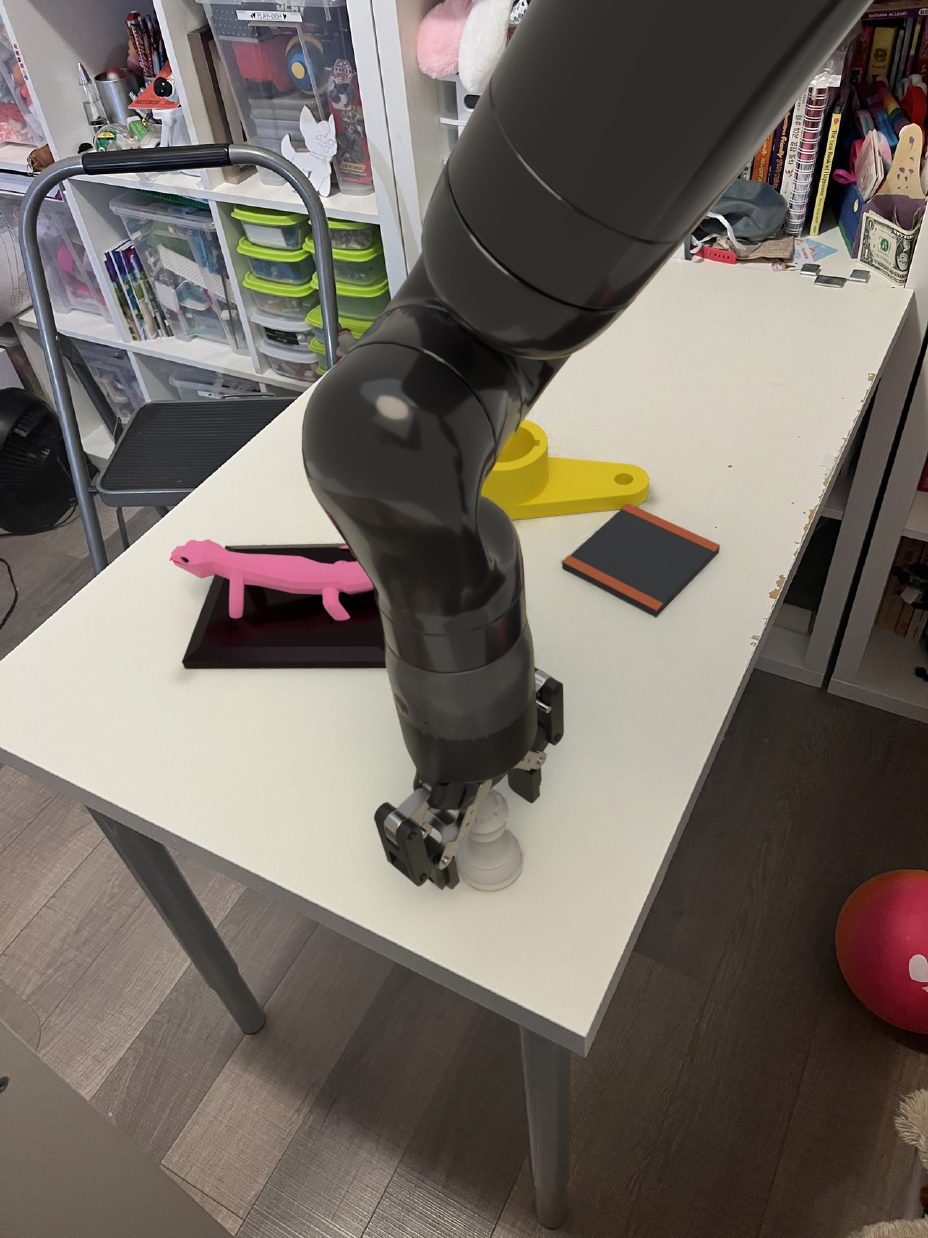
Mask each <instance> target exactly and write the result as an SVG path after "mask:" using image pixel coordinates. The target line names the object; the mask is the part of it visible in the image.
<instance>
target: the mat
mask: <svg viewBox="0 0 928 1238" xmlns="http://www.w3.org/2000/svg"><path fill="white" fill-rule="evenodd" d="M720 547H721V544H719V543H716V542H715V541H712V540H710V539H708V538H705V537H704V536H701V535H699V534H697V533H695V532H692V531H690V530H688V529H686V528H683V527H681V526H679V525H677V524H675V523H673V522H670V521H669V520H666V519H663V518H662V517H659V516H657V515H655V514H653V513H651V512H649V511H646V510H644V509H642V508H640V507H638V506H636V507H635V506H633V505H631V504H629V503H626V504H625V505H624V506H623V507H622V508H621V509H619V510H618V511H617V512H616V513H615V514H614V515H612V517H610V519H608V520H607V521H606V522H605V523H604V524H603V525H602V526H601V527H600V528H599V529H597V530H596V531H595V532H593V534H592V535H590V537H588V538H587V539H586V540H585V541H584V542H583V543H582V544H581V545H579V546H578V547H577V548H576V549H575V550H574V551H573V552H572V553H570V554H568V555H567V556H566V557H565V558H564V559H562V561H561V563H562V564H561V566H562V569H563V570H565V571H566V572H569V573H571V574H572V575H574V576H576V577H578V578H580V579H582V580H584V581H586V582H587V583H590V584H591V585H594V586H595V587H597V588H600V589H601V590H602V591H603V590H604V591H605V592H607V593H609V594H611V595H613V596H615V597H616V598H618V599H621V600H622V601H624V602H626V603H628V604H630V605H632V606H633V607H635V608H638V609H639V610H641V611H643V612H645V613H647V614H649V615H651V616H653V617H655V618H657V617H658V615H660V614H661V613H662V611H664V609H666V607H668V605H669V604H670V603H671V602H672V601H673V600H674V599H675V598H676V597H677V596H678V595H679V594H680V593H681V592H682V591H683V590H684V589H685V588H686V587H687V586H688V585H689V584H690V583H691V582H692V581H693V580H694V578H696V577H697V576H698V574H700V573H701V571H702V570H703V569H705V568H706V566H707V565H708V564H709V563H710V562H711V561H712V560H713V559H714V558H715V557H716V556H717V555H718V554H719V553H720Z"/></svg>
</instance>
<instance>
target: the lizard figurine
mask: <svg viewBox="0 0 928 1238" xmlns="http://www.w3.org/2000/svg"><path fill="white" fill-rule="evenodd" d="M171 561H172V563H173V564H174V566H176V567H178V568H180V569H182V570H183V571H186V572H188V573H190V574H192V575H194V576H195V577H197V578H200V579H206V578H208V577H212V576H213V578H212V579H211V583H210V585H209V588H208V591H207V593H206V596H205V599H204V602H203V604H202V607H201V609H200V612H199V615H198V618H197V621H196V623H195V626H194V628H193V630H192V633H191V636H190V638H189V642H188V644H187V646H186V649H185V652H184V654H183V657H182V660H181V664H182V665H183V667H184V669H185V670H190V669H191V670H205V669H206V670H209V669H211V670H214V669H215V670H218V669H219V670H220V669H221V670H224V669H225V670H227V669H230V670H231V669H233V670H234V669H235V670H236V669H237V670H238V669H243V670H246V669H251V670H252V669H254V670H255V669H258V670H259V669H260V670H261V669H263V670H264V669H266V670H267V669H268V670H269V669H387V668H386V662H385V650H384V634H383V630H382V626H381V622H380V617H379V613H378V609H377V605H376V600H375V596H374V591H373V586H372V582H371V580H370V579H369V577H368V576H367V574H366V573H365V571H364V570H363V569H362V567H361V566H360V564H359V563H358V561H357V560H356V559H355V557H354V556H353V554H352V552H351V551H350V549H349V548H348V546H347V544H346V543H345V542H343V543H342V542H341V543H340V542H336V543H335V542H334V543H292V544H291V543H289V544H288V543H287V544H286V543H285V544H243V545H242V544H241V545H239V544H238V545H237V544H236V545H225V546H224V547H223V546H222V545H221V544H219V543H218V542H215V541H213V540H211V539H208V538H207V539H204V540H196V539H190V540H188V541H187V542H186V543H185V545H179V546H177V547H175V548H174V549H173V550H172V551H171V553H170V558H169V562H171Z"/></svg>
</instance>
